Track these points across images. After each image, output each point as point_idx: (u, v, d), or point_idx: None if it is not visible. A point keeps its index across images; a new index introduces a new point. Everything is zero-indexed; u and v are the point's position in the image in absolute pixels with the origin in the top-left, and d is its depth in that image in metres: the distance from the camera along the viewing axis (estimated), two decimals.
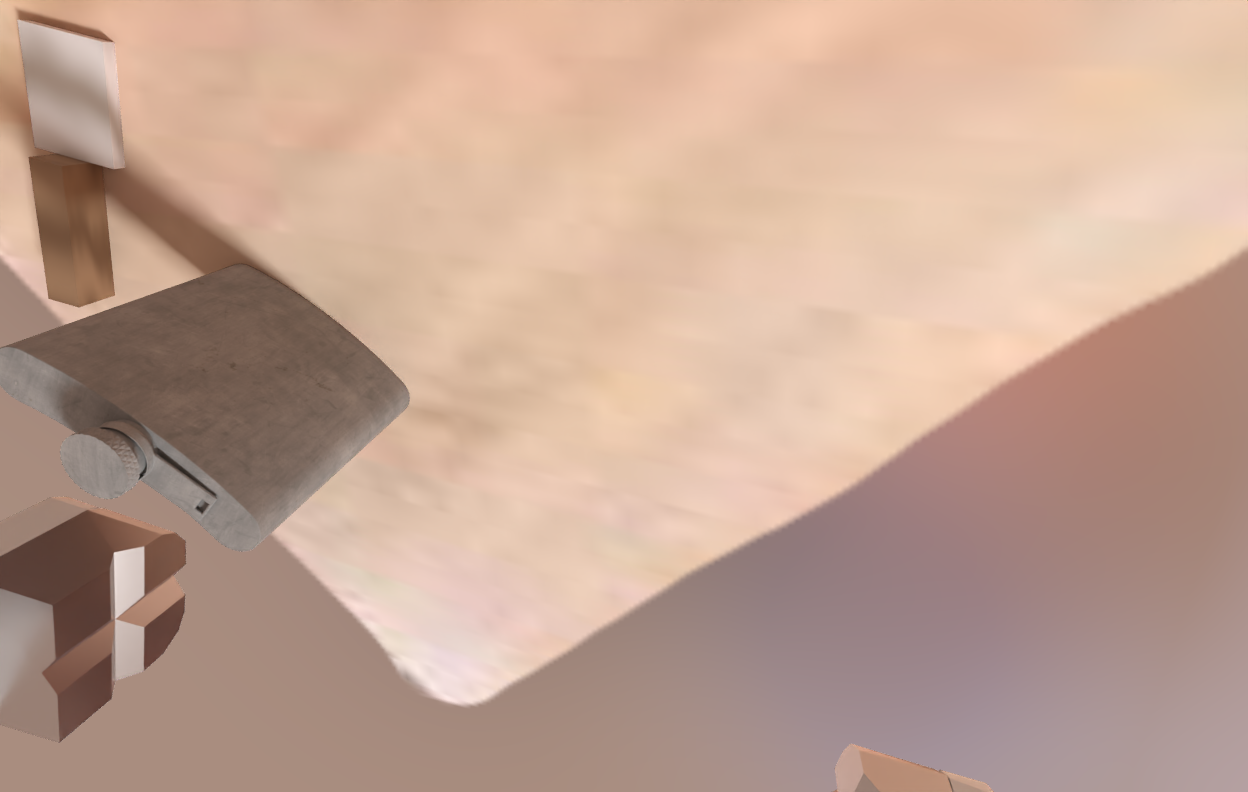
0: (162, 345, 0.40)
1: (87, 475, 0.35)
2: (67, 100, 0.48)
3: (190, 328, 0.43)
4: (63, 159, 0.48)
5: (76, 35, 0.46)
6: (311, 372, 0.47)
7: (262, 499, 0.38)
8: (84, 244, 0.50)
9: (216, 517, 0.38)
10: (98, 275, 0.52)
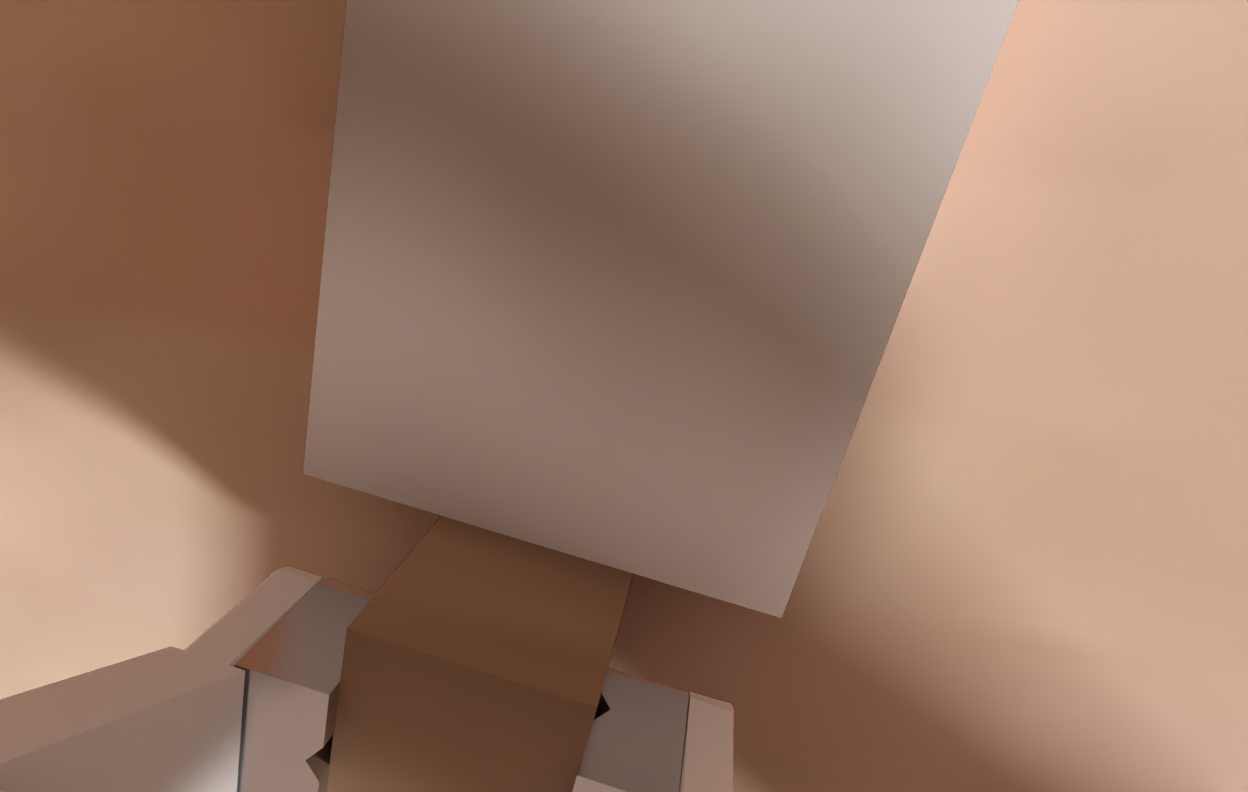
0: None
1: None
2: (606, 232, 0.07)
3: None
4: (514, 581, 0.08)
5: None
6: None
7: None
8: None
9: None
10: None
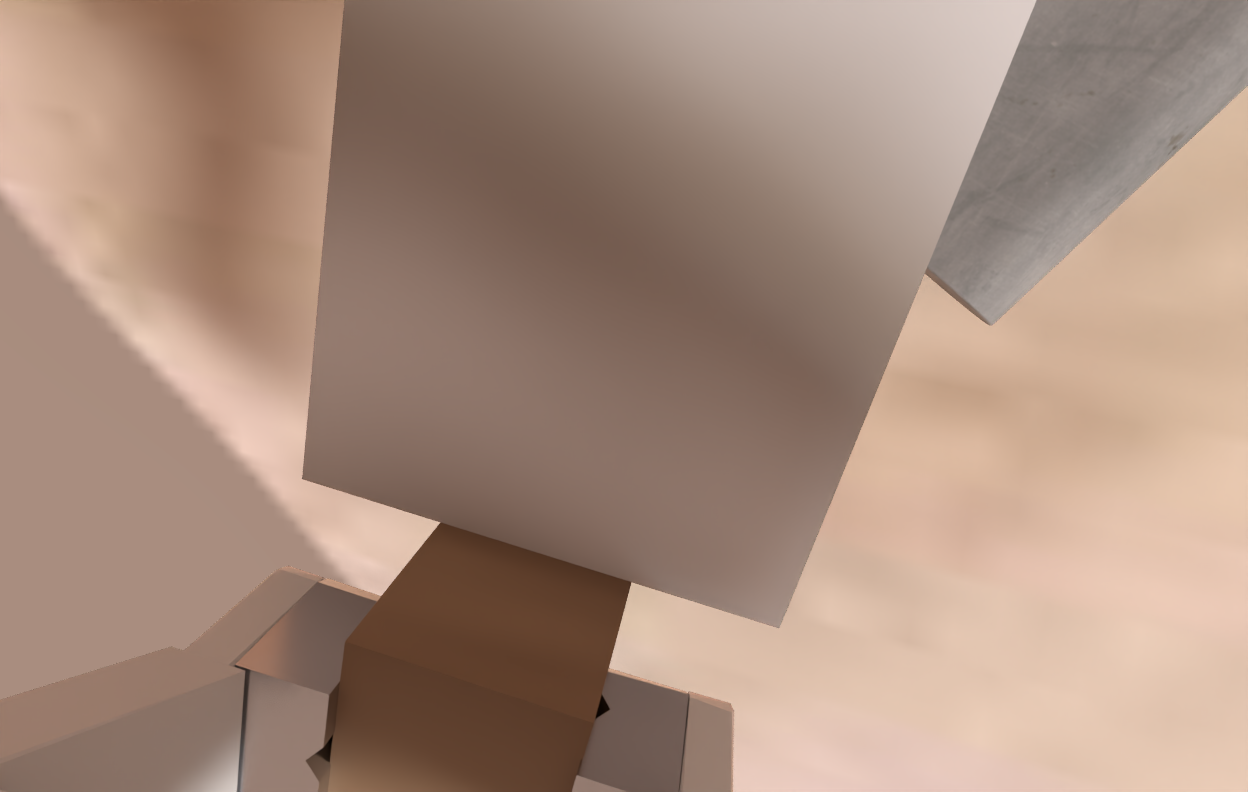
0: None
1: None
2: (607, 243, 0.07)
3: None
4: (512, 591, 0.08)
5: None
6: None
7: None
8: None
9: None
10: None
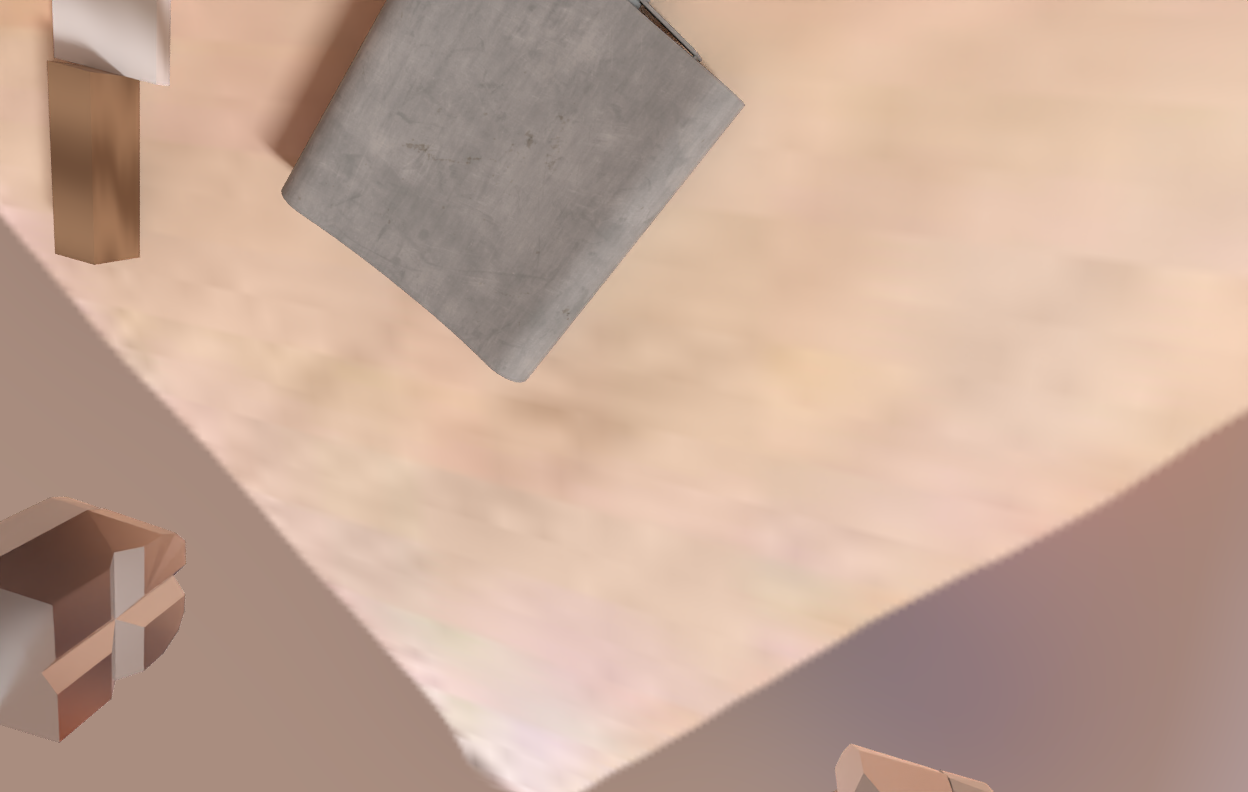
0: None
1: None
2: None
3: None
4: (91, 69, 0.37)
5: None
6: None
7: None
8: (108, 181, 0.39)
9: None
10: (122, 227, 0.41)
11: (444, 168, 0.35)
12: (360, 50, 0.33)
